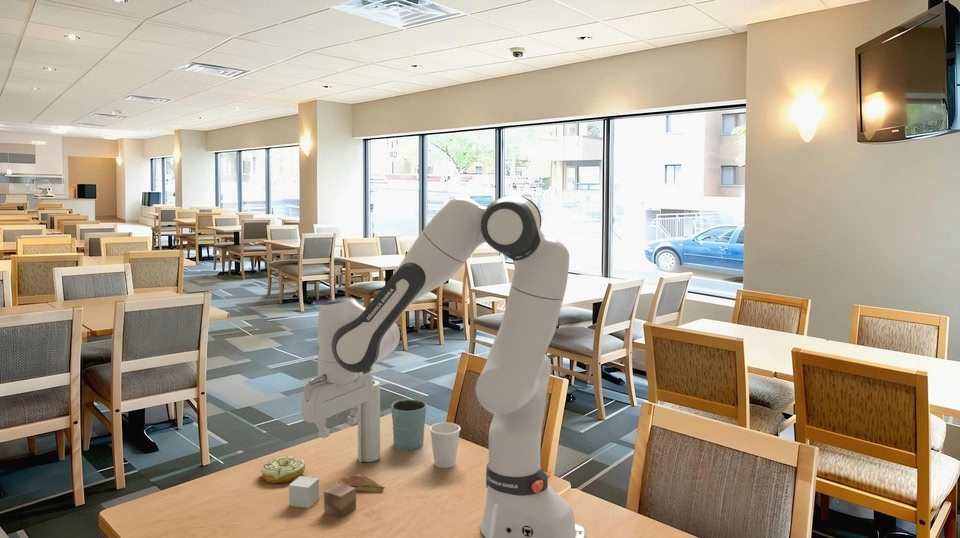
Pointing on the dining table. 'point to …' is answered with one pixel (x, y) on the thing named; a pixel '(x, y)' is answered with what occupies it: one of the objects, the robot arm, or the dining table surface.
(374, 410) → the paper towel roll
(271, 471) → the decorated donut
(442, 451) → the dixie cup
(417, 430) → the teal plant pot
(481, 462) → the dining table surface
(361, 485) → the shard
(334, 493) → the walnut cube
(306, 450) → the dining table surface
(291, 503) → the grey cube
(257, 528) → the dining table surface
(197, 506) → the dining table surface
